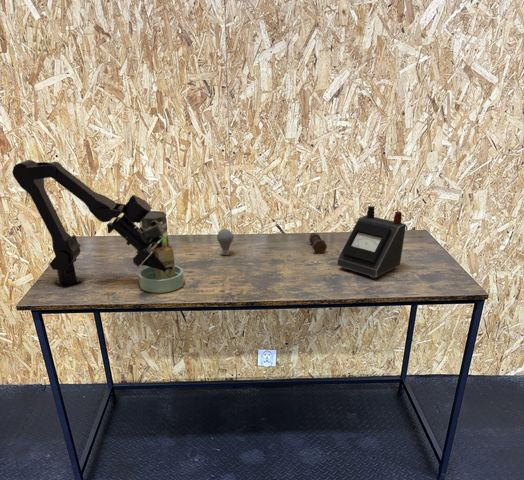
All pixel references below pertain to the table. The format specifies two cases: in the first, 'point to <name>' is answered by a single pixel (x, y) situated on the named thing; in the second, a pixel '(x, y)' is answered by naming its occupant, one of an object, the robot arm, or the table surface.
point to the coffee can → (160, 218)
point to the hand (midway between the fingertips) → (168, 266)
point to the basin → (159, 281)
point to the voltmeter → (373, 245)
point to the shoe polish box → (165, 263)
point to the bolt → (317, 243)
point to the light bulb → (225, 240)
